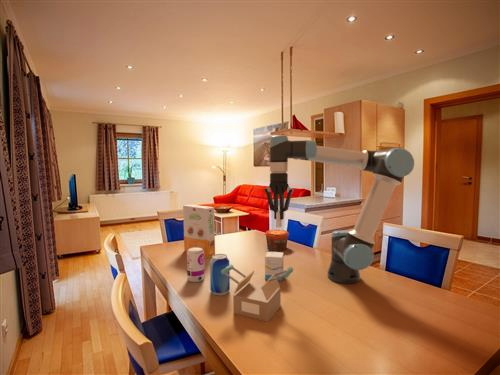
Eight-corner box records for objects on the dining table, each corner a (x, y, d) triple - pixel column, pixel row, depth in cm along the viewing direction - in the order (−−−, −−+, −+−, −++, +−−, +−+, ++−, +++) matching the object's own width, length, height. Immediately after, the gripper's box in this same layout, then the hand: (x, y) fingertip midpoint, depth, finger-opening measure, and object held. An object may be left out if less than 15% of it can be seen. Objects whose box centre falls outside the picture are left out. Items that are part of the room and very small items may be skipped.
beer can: (214, 297, 118) (213, 260, 117) (207, 290, 125) (207, 255, 124) (232, 293, 122) (232, 257, 120) (225, 286, 129) (224, 252, 128)
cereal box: (215, 255, 174) (214, 207, 172) (207, 258, 169) (206, 208, 167) (192, 248, 188) (190, 204, 186) (184, 251, 184) (183, 205, 181)
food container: (290, 251, 181) (290, 234, 180) (265, 251, 181) (265, 234, 181) (287, 244, 197) (287, 229, 196) (264, 244, 197) (264, 229, 196)
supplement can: (207, 277, 139) (207, 247, 138) (197, 284, 132) (197, 252, 131) (194, 275, 143) (193, 246, 142) (183, 281, 135) (183, 250, 134)
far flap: (255, 270, 115) (238, 258, 118) (239, 282, 102) (221, 269, 105) (249, 280, 116) (233, 269, 119) (233, 294, 104) (215, 281, 107)
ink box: (282, 281, 134) (282, 257, 133) (264, 280, 136) (264, 256, 135) (283, 274, 142) (283, 252, 142) (267, 273, 144) (267, 251, 143)
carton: (280, 305, 111) (280, 288, 110) (268, 322, 99) (268, 302, 99) (248, 298, 117) (248, 282, 116) (233, 313, 105) (233, 295, 105)
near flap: (279, 285, 111) (298, 279, 108) (266, 300, 99) (287, 294, 95) (273, 272, 112) (292, 265, 108) (260, 285, 100) (280, 279, 96)
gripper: (296, 172, 121) (296, 226, 123) (267, 172, 127) (268, 224, 128) (290, 172, 114) (290, 230, 116) (261, 172, 120) (261, 227, 122)
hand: (278, 226), depth 122 cm, fingers closed
